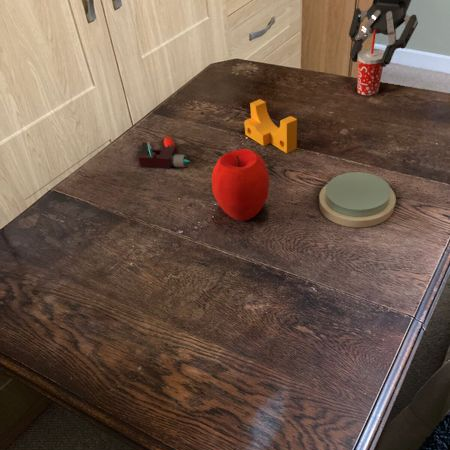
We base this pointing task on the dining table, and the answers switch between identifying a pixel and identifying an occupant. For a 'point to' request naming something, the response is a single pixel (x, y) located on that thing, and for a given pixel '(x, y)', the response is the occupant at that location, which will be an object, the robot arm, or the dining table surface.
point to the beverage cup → (369, 69)
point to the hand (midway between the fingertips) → (367, 62)
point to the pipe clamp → (271, 128)
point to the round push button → (357, 200)
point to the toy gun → (161, 156)
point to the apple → (240, 183)
